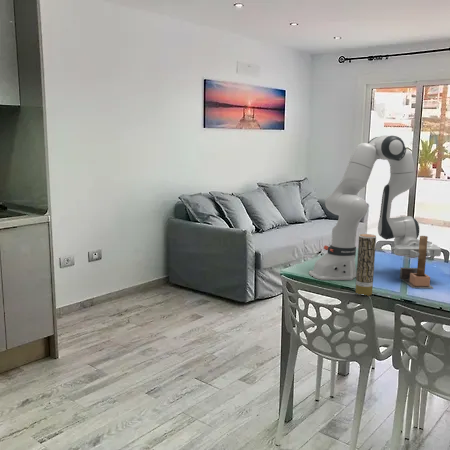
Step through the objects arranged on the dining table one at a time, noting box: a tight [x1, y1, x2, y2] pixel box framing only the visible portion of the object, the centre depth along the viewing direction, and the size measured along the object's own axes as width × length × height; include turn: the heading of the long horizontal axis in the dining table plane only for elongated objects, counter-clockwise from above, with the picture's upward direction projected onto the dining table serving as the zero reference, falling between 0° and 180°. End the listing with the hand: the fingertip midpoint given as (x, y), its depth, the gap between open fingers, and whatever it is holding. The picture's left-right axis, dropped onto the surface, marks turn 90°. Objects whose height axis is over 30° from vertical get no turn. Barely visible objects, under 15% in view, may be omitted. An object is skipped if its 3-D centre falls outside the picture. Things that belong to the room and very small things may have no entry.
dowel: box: [416, 235, 429, 277], centre depth 224 cm, size 3×3×20 cm
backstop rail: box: [399, 267, 434, 290], centre depth 229 cm, size 16×10×5 cm, turn 179°
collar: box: [409, 273, 431, 286], centre depth 225 cm, size 7×7×4 cm
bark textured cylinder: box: [355, 233, 377, 297], centre depth 209 cm, size 7×7×25 cm
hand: (423, 254), depth 223 cm, fingers closed on dowel, 3 cm apart
